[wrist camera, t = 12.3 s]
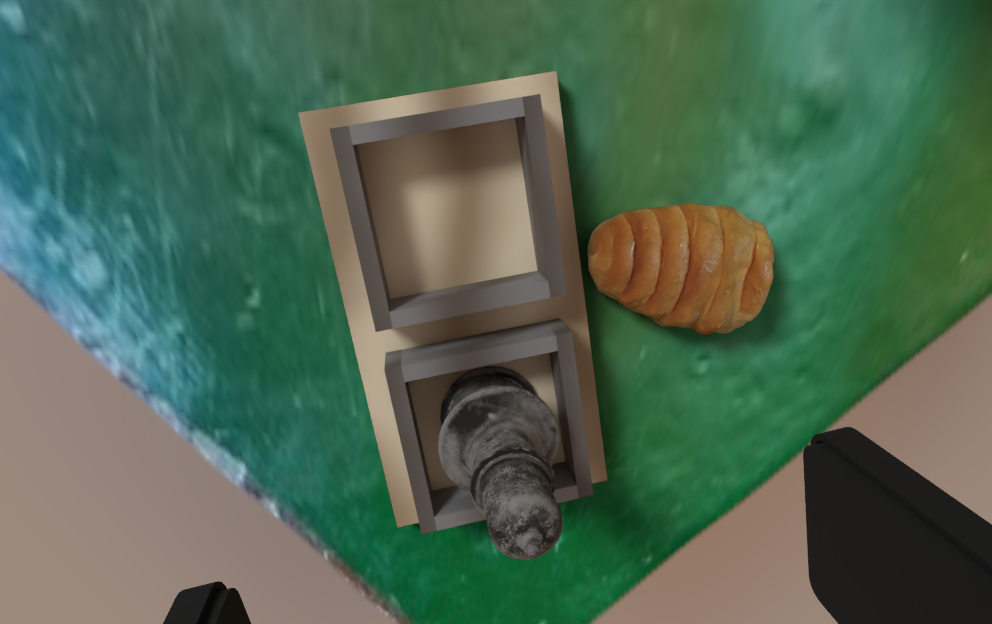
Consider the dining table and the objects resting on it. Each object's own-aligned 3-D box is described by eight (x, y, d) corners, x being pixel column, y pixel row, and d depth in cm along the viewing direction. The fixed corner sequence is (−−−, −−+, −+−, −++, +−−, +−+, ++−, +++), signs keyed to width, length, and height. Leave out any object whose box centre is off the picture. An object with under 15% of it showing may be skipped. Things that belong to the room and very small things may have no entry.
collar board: (550, 73, 31) (569, 65, 27) (600, 469, 37) (622, 504, 34) (302, 113, 30) (288, 110, 26) (397, 515, 36) (397, 556, 32)
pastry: (569, 307, 34) (590, 327, 31) (595, 182, 33) (620, 187, 29) (726, 329, 36) (763, 350, 32) (758, 212, 35) (801, 220, 31)
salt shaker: (530, 469, 35) (592, 631, 23) (424, 455, 34) (436, 618, 22) (555, 370, 34) (635, 491, 22) (446, 352, 32) (470, 470, 21)
